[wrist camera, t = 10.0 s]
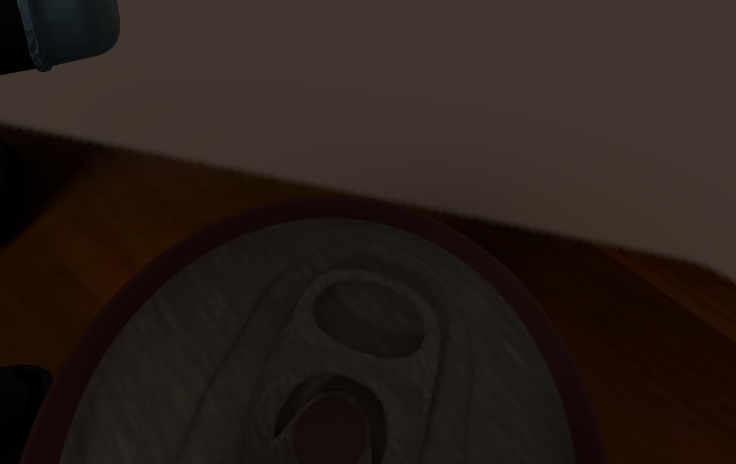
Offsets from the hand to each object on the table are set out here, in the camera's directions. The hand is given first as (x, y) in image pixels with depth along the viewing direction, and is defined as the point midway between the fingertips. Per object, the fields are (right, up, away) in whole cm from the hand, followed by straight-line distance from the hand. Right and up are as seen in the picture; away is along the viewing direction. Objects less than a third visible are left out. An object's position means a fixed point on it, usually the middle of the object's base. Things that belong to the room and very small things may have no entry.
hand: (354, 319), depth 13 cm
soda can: (-1, -5, +2) cm, 5 cm away
